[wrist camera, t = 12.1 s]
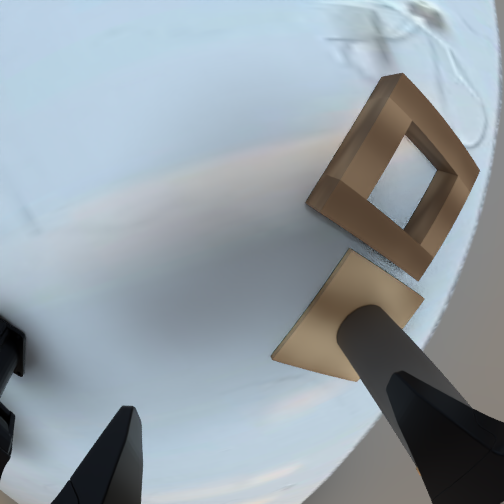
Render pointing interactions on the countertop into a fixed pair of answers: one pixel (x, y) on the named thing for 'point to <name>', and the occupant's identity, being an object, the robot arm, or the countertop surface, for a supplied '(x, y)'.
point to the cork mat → (343, 315)
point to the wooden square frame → (374, 163)
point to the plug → (386, 358)
